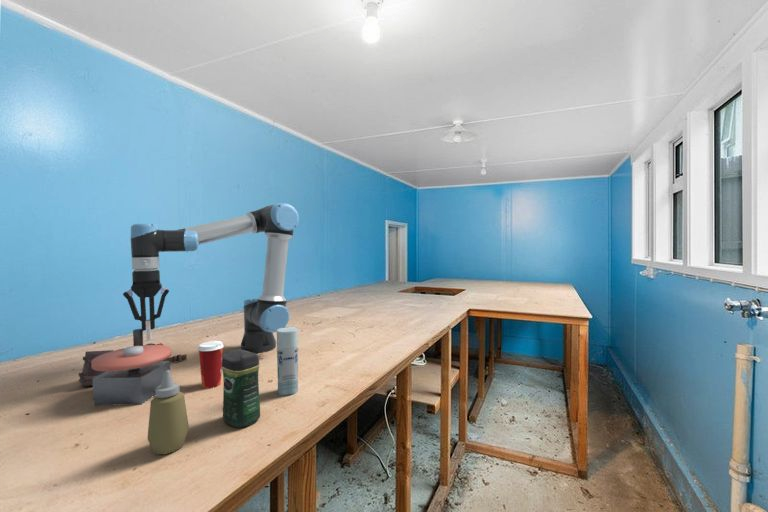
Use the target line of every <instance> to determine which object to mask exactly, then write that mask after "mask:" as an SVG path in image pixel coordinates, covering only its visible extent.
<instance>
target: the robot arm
mask: <svg viewBox="0 0 768 512" xmlns="http://www.w3.org/2000/svg"><path fill="white" fill-rule="evenodd" d="M299 222H300V215H299V213H298V211H297V209H296V208H295V207H294V206H293V205H291V204H289V203H285V202H283V203H281V202H279V203H276V204H271V205H266V206H264V207H262V208H259V209H256V210H254V211H253V210H252V211H249V212H247V213H246V214H245V215H241V216H237V217H231V218H227V219H221V220H217V221H211V222H208V223H205V224H204V223H203V224H198V225H194V226H193V225H192V226H190V227H186V228H184V227H183V228H181V229H176V230H174V229H173V230H172V229H171V230H167V229H166V230H165V229H159V226H158V225H157V223H155V224H154V223H133V224H132V225H131V226H130V237H129V238H130V250H131V251H130V252H131V253H130V254H131V269H132V270H133V271H132V273H131V274H132V275H131V276H132V279H131V280H132V285H131V287H130V289H129V290H127V291H123V293H122V296H123V297H124V298H125V299H126V300H127V303H128V305H129V307H130V311H131V313H132V316H133V318H134V320H135V321H140V322H141V329H142V330H143V332H144V331H145V339H146V341H151V340H152V330H155V328H156V323H155V322H156V321H155V320H156V319H159V318H161V315H162V311H163V308H164V303H165V300H166V298H167V296H168V294H169V292H170V289H169V288H165V287H163V285H162V283H161V275H160V273H161V272H160V271H161V270H159V268H160V253H164V252H172V253H173V252H174V253H175V252H186V253H188V252H195V251H197V250H198V248H199V245H203V244H207V243H212V242H215V241H219V240H224V239H228V238H231V237H236V236H240V235H244V234H248V233H252V234H258V233H264V235H265V236H266V237H267V242H266V253H265V264H264V274H263V283H262V292H261V293H262V294H261V295H260V296H259V297H252V298H246V299H245V300H244V301H243V307H242V308H243V320H244V321H243V323H244V324H243V325H244V330H243V331H244V333H243V335H242V339H241V343H240V348H239V349H241V350H245V351H249V352H252V353H255V354H257V353H266V352H268V351H272V350H274V349H275V348H277V339H276V338H275V335H274V333H277V330H278V329H280V328H284V327H287V325H288V324H289V322H290V312H289V309H288V308H287V299H286V297H285V295H284V293H285V281H286V271H287V262H288V261H287V260H288V253H289V241H290V240H291V239H292V238H293V237H294V231H295V229H296V228H297V227H298V225H299ZM159 292H160V294H161V297H160V300H159V303H158V307H157V311H156V314H155V296H156V295H157V294H159ZM133 293H134V294H135V295H136V296H137V297H138V298H139V301H140V313H139V310H138V308H137V305H136V303H135V300H134V298H133V295H134V294H133ZM146 298H148V301H149V302H148V303H149V319H147V306H146V305H147V304H146Z"/></svg>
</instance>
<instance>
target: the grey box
mask: <svg viewBox="0 0 768 512" xmlns="http://www.w3.org/2000/svg"><path fill="white" fill-rule="evenodd" d="M166 370H170V371H171V362H170V361H161V362H158V363H155V364H152V365H149V366H145V367H141V368H137V369H133V370H123V371H109V372H104V373H102V374H100V375H98V376H96V377H94V378H93V385H92V397H93V398H92V399H93V402H92V404H93V406H103V405H104V406H108V405H109V406H110V405H111V406H112V405H113V406H115V405H117V404H120V405H143V404H144V403H146V402H147V401H149V400H150V399H152V398H153V397H155V396H156V392H155V389H156V388H157V387H158V386H160V385H161V383H162V379H163V374H164V371H166ZM154 395H155V396H154ZM152 396H153V397H152ZM151 397H152V398H151ZM148 399H149V400H148ZM145 401H146V402H145ZM142 403H143V404H142ZM114 404H115V405H114Z"/></svg>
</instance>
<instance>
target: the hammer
mask: <svg viewBox="0 0 768 512" xmlns="http://www.w3.org/2000/svg"><path fill="white" fill-rule="evenodd" d="M111 351H115V350H113V349H110V350H91V351H88V350H87V351H85V353H84V354H85V355H84V356H82V360H83V361H84V362H83V363H84V364H83V368H82V372H79V373H78V377H79V379H78V382H79V383H80V384H81V385H82V386H93V378H94V377H96V376H98V375H100V374H102V373H104V372H105V371H96V370H93V369H92V365H91V362H92V360H93V359H94V358H96V357H97V356H100V355H102V354H105V353H108V352H111ZM187 356H188V355H187V354H177V355H173V356H172V357H171V356H170V357H169V358H167V359H165V360H163V361H170V363H181V362H182V361H185V360H187V359H188V357H187Z"/></svg>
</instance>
